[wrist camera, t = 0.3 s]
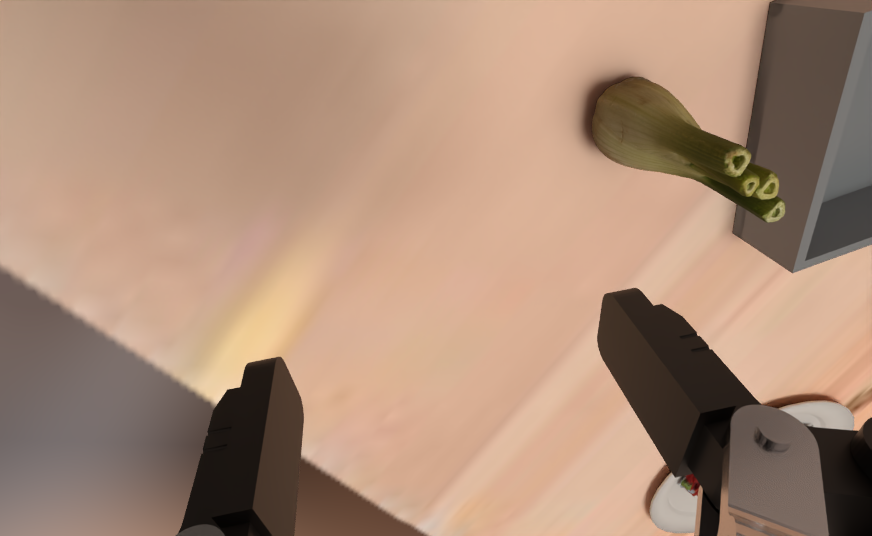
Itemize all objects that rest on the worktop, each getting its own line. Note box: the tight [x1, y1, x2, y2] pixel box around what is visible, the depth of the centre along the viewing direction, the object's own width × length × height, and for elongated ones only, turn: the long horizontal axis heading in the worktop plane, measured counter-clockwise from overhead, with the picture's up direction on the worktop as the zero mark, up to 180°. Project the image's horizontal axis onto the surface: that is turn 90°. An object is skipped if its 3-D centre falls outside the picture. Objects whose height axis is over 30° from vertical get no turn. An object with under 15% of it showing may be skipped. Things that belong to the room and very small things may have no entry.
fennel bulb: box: [592, 77, 786, 223], centre depth 25 cm, size 6×5×12 cm
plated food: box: [649, 400, 854, 533], centre depth 64 cm, size 30×30×3 cm
